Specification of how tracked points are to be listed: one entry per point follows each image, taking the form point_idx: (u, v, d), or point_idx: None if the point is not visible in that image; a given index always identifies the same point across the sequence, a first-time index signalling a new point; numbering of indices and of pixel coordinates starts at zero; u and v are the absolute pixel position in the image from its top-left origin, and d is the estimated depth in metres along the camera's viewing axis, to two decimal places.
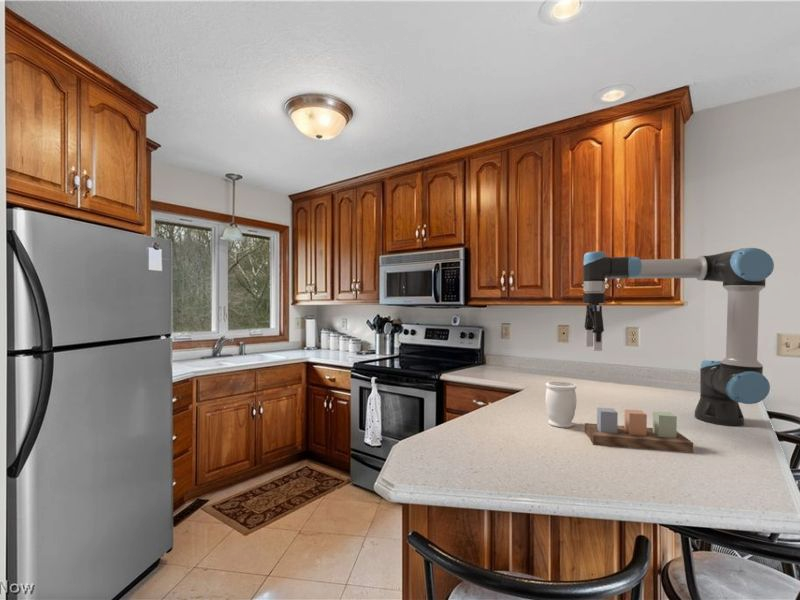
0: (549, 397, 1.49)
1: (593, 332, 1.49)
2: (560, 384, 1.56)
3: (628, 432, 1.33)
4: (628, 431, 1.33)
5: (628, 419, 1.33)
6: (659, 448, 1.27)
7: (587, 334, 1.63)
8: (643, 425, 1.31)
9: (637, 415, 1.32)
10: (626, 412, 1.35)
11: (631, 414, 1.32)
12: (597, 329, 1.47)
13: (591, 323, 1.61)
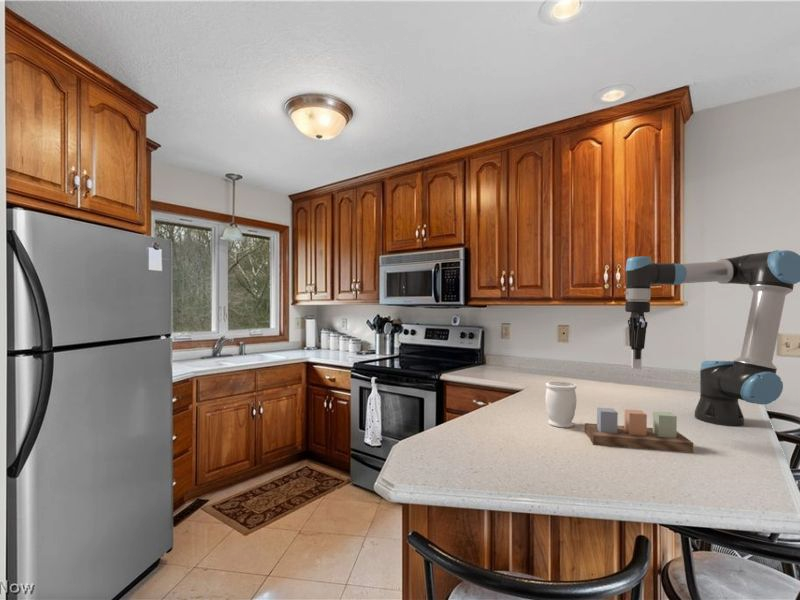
0: (549, 397, 1.49)
1: (632, 349, 1.44)
2: (560, 384, 1.56)
3: (628, 432, 1.33)
4: (628, 431, 1.33)
5: (628, 419, 1.33)
6: (659, 448, 1.27)
7: None
8: (643, 425, 1.31)
9: (637, 415, 1.32)
10: (626, 412, 1.35)
11: (631, 414, 1.32)
12: (637, 346, 1.41)
13: None
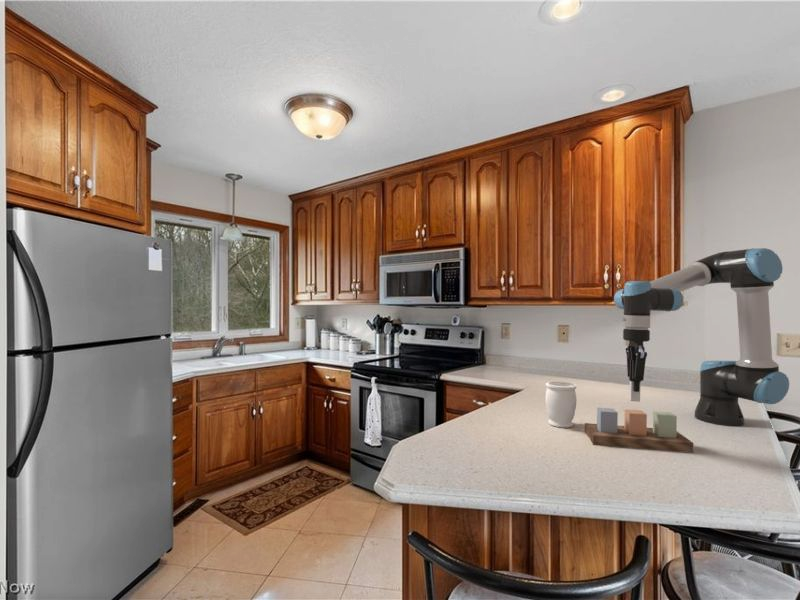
0: (549, 397, 1.49)
1: (630, 381, 1.33)
2: (560, 384, 1.56)
3: (628, 432, 1.33)
4: (628, 431, 1.33)
5: (628, 419, 1.33)
6: (659, 448, 1.27)
7: None
8: (643, 425, 1.31)
9: (637, 415, 1.32)
10: (626, 412, 1.35)
11: (631, 414, 1.32)
12: (636, 378, 1.31)
13: None
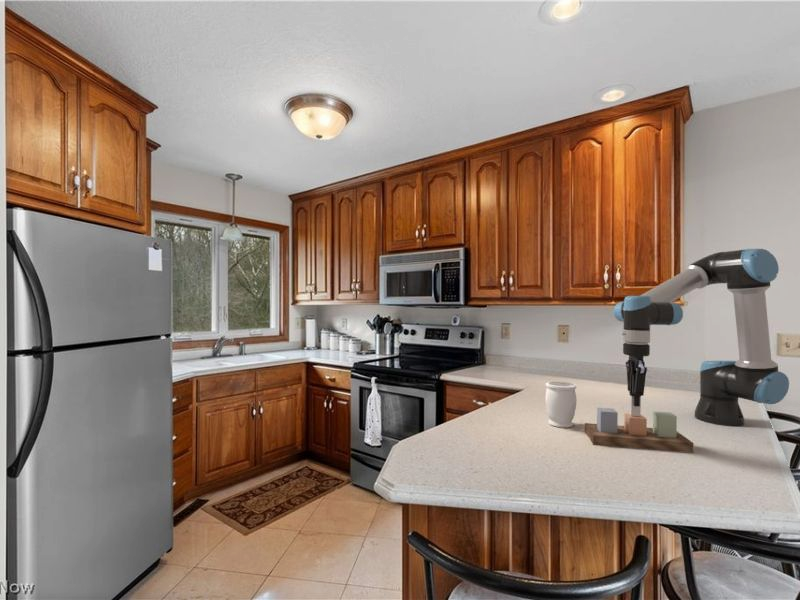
0: (549, 397, 1.49)
1: (630, 395, 1.33)
2: (560, 384, 1.56)
3: None
4: None
5: (628, 423, 1.33)
6: (659, 448, 1.27)
7: None
8: (643, 430, 1.31)
9: (637, 419, 1.32)
10: (626, 416, 1.35)
11: (631, 418, 1.32)
12: (636, 393, 1.31)
13: None
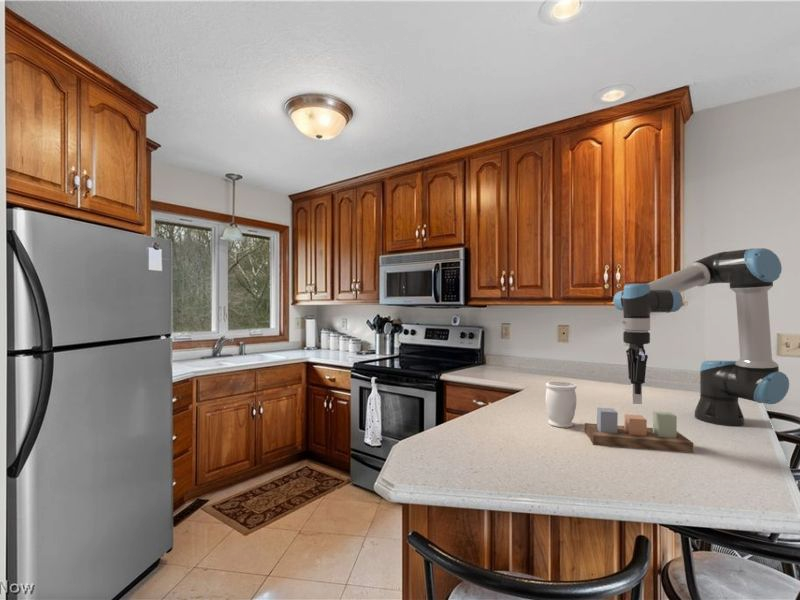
0: (549, 397, 1.49)
1: (631, 383, 1.33)
2: (560, 384, 1.56)
3: None
4: None
5: (628, 424, 1.33)
6: (659, 448, 1.27)
7: None
8: (643, 430, 1.31)
9: (637, 420, 1.32)
10: (626, 417, 1.35)
11: (631, 419, 1.32)
12: (637, 381, 1.31)
13: None
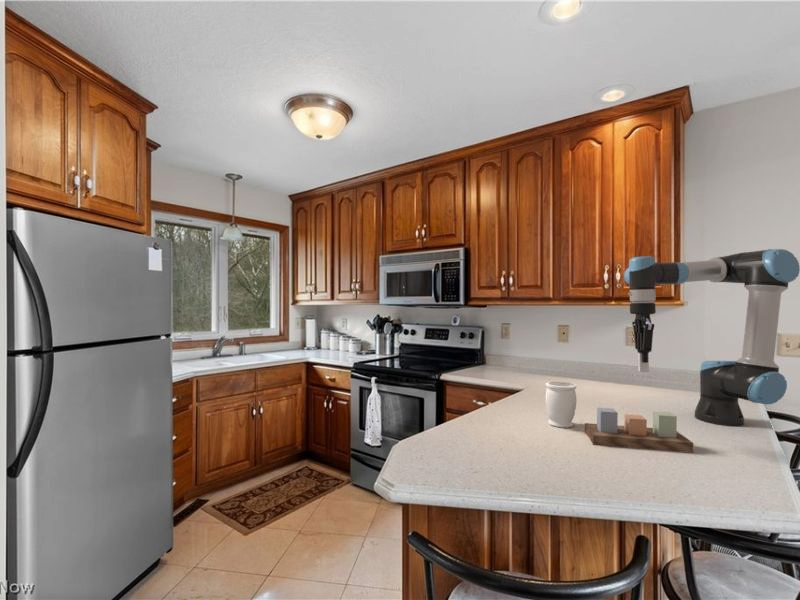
0: (549, 397, 1.49)
1: (639, 352, 1.39)
2: (560, 384, 1.56)
3: None
4: None
5: (628, 424, 1.33)
6: (659, 448, 1.27)
7: None
8: (643, 430, 1.31)
9: (637, 420, 1.32)
10: (626, 417, 1.35)
11: (631, 419, 1.32)
12: (644, 349, 1.36)
13: None
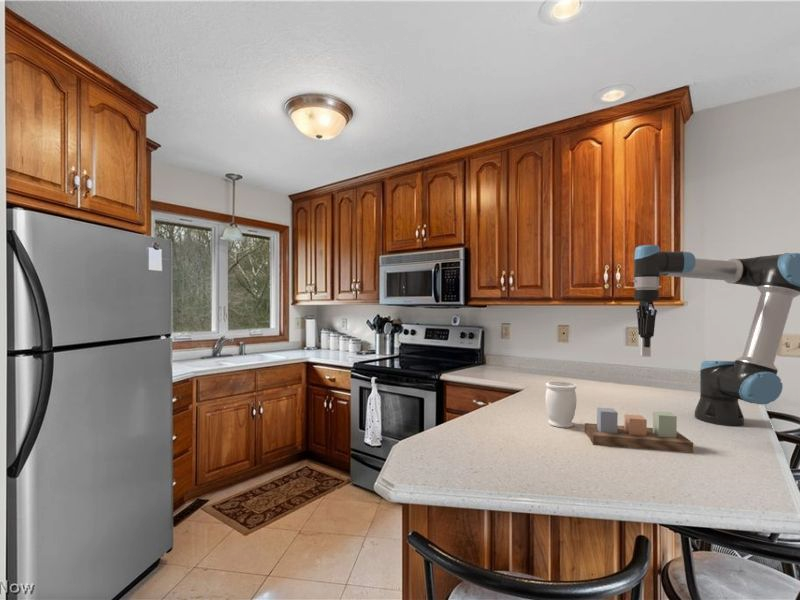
0: (549, 397, 1.49)
1: (641, 337, 1.44)
2: (560, 384, 1.56)
3: None
4: None
5: (628, 424, 1.33)
6: (659, 448, 1.27)
7: None
8: (643, 430, 1.31)
9: (637, 420, 1.32)
10: (626, 417, 1.35)
11: (631, 419, 1.32)
12: (646, 334, 1.42)
13: None
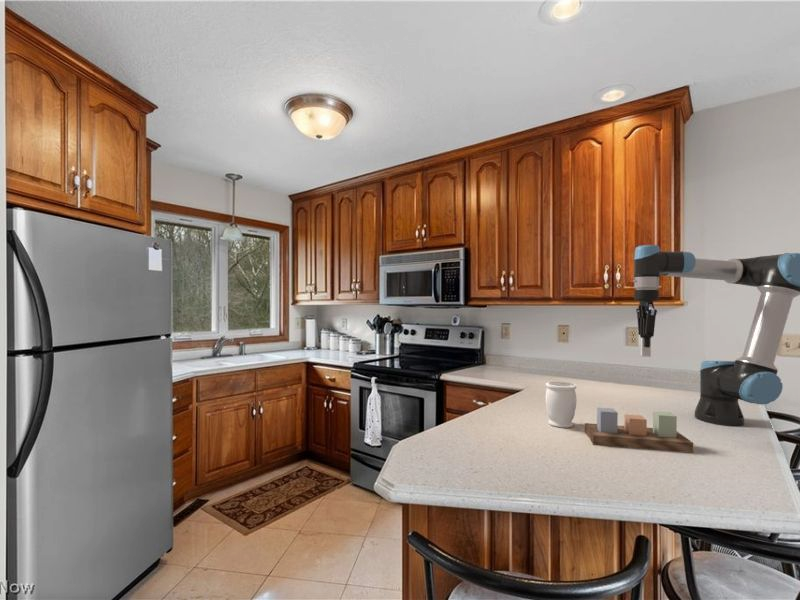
0: (549, 397, 1.49)
1: (641, 337, 1.44)
2: (560, 384, 1.56)
3: None
4: None
5: (628, 424, 1.33)
6: (659, 448, 1.27)
7: None
8: (643, 430, 1.31)
9: (637, 420, 1.32)
10: (626, 417, 1.35)
11: (631, 419, 1.32)
12: (646, 334, 1.42)
13: None
